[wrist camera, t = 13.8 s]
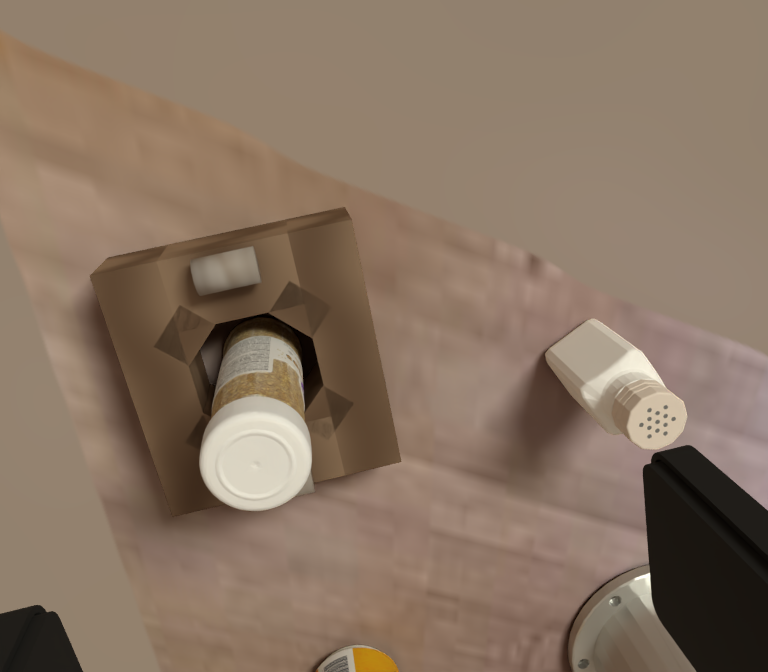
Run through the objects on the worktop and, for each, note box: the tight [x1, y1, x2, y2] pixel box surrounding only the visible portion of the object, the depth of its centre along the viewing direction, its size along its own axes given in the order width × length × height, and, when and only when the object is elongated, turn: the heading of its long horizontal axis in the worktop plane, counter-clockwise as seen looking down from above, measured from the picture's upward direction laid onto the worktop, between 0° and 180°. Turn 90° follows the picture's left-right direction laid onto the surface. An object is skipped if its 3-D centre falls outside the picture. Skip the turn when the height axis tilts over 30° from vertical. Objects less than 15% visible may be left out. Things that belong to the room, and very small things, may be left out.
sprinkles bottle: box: [199, 317, 312, 511], centre depth 35 cm, size 5×5×13 cm
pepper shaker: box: [545, 319, 687, 450], centre depth 40 cm, size 4×4×10 cm
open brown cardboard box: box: [90, 207, 401, 517], centre depth 39 cm, size 13×14×6 cm
